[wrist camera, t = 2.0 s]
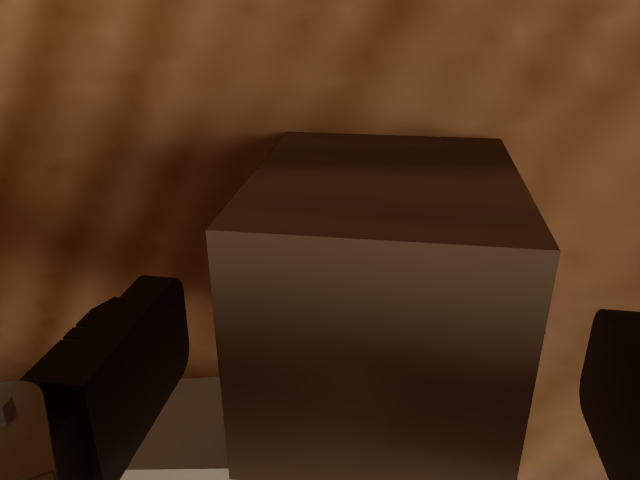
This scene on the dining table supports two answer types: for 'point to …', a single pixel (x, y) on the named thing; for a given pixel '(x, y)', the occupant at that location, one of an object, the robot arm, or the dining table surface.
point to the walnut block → (379, 310)
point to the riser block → (185, 437)
